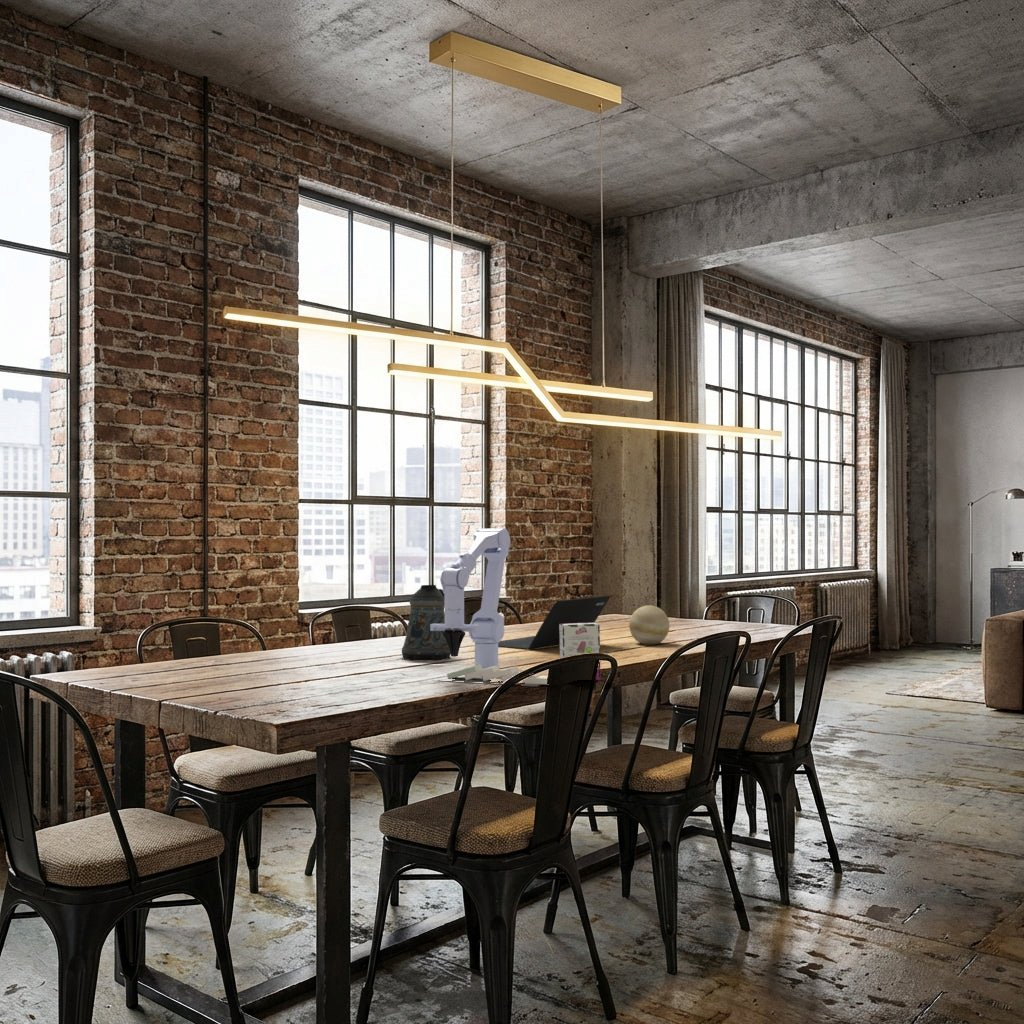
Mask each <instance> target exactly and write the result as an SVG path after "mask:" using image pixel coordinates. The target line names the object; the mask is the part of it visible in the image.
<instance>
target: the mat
mask: <svg viewBox="0 0 1024 1024" xmlns="http://www.w3.org/2000/svg"><path fill="white" fill-rule="evenodd" d="M452 681H464V682H483V683H499V684H501V683H503V681H501V682H500V681H498V682H490V681H491V680H486V681H483V678H482V676H479V677H476V678H472V679H469V680H466V679H465V676H458V677H455V680H452ZM541 685H543V684H529V683H525V684H521V687H540V686H541Z"/></svg>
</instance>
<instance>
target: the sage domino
mask: <svg viewBox="0 0 1024 1024" xmlns="http://www.w3.org/2000/svg"><path fill="white" fill-rule="evenodd" d="M479 670H482V666H481V664H479V665H476V666H475V665H473V666H469V667H466V668H462V669H459V670H454V671H452V672H449V673H446V676H447V679H451V678H459V677H463V676H465V675H466V674H469V673H473V672H476V671H479Z"/></svg>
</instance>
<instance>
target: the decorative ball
mask: <svg viewBox="0 0 1024 1024" xmlns="http://www.w3.org/2000/svg"><path fill="white" fill-rule="evenodd" d="M628 626H629V632H630V634H631V636H632V637H633V638H634V640H635V641H636V642H638V643H639V644H640V645H648V646H649V645H650V646H651V645H652V646H653V645H658V644H660V643H662V642H663V641H664V640H665V639H666V638H667V636H668V634H669V630H670V620H669V617H668V615H667V614H666V613H665V611H664V610H663V609H661V607H658V606H656V605H655V606H654V605H651V604H650V605H642V606H641V607H640V606H639V608H637V609H636V610H635V611H633V613H632V615H631V616H630V619H629V625H628Z"/></svg>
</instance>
